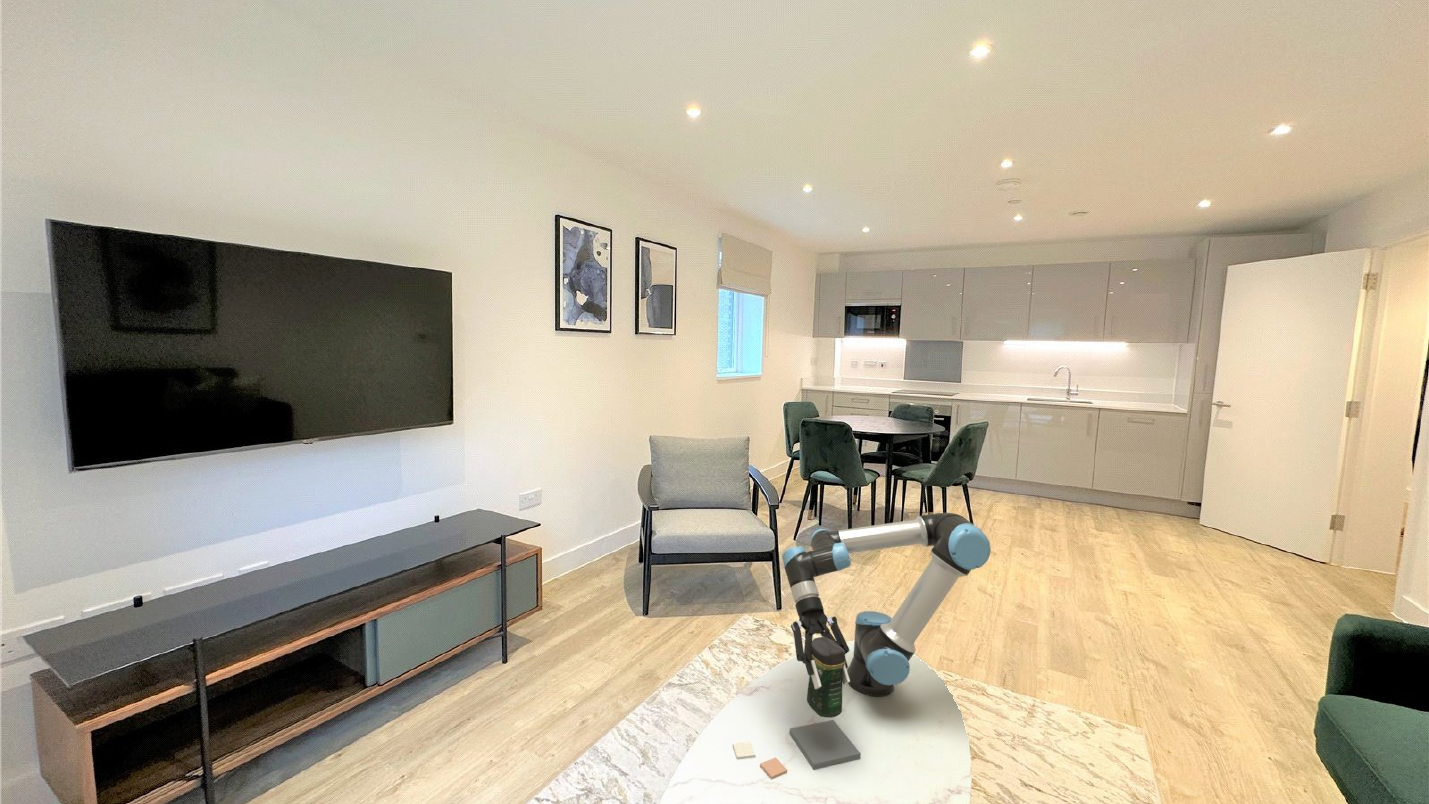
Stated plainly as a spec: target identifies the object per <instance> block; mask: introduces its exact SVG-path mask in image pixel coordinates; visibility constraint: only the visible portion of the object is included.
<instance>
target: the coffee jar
mask: <svg viewBox="0 0 1429 804" xmlns="http://www.w3.org/2000/svg"><path fill="white" fill-rule="evenodd" d="M845 659H846V654H845V650H844V649H843V648H842V647H841V646H839V645H838V644H837V643H835V642H834V641H833V640H831V639H829V638H827V637H822V636H820V637H815V638H813V639H812V643H811V660H814V661H815V665H816V668H817V672H818V675H819V679H820V682H821V687H820V688H818V689H815V687H814V684H813V680H812V677H811V675H808V676H809V677H808V678H809V679H808V684H807V686H808V687H807V694H806V703H807V704H808V705H809V708H811V709H812V710H813V712H814V713H815V714H817V715H818V716H820V717H821V718H827V719H829V718H830V719H831V718H836V717H838V716H839V715H841V713H842V711H843V682H842V680H843V668H844V665H845Z"/></svg>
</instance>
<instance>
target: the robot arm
mask: <svg viewBox="0 0 1429 804" xmlns="http://www.w3.org/2000/svg"><path fill="white" fill-rule="evenodd" d="M914 545H922V546H923V547H932V548H931V550H930V555H931V560H930V561H929V562H928V564H927V566H926V567H925V569H924V570H923V572H922V573H921V575H920V576H919V578H918V579H917V580H916V582H915V583H914V585H913V587H912V588H911V590H910V592H908V594H907V595H906V597H905V599H904V600H903V602H902V603H901V604H900V605H899V607H898V609H897V610H896V612H895V613H894V615H893V616H892V617H891V616H890V615H888V614H886V613H883V612H880V611H879V612H878V611H874V610H873V611H872V610H871V611H870V610H865V611H860V612H858V613H857V614H856V617H855V622H854V623H855V625H854V626H855V627H854V642H853V643H854V644H853V656H852V659H851V661H850V664H849V666H848V662H847V660H846V658H845V665H844V668H843V680H842V685H846V684H849V686H850V687H851V688H852V689H854V690H855V691H857V692H858V693H861V694H864V695H867V696H871V697H884V696H887V695H890V694H891V693H892V692H893V691H894V690H895V686H896V685H898V684H901V683H902V682H905V681H906V679H907V678H908V677H909V675H910V670H911V668H910V667H911V666H910V660H911V658H912V657H913V655H914V654H915V653H916V646H915V642H916V641H917V639H918V638H919V636H920V635H921V634H922V632H923V630H924V629H925V628H926V626H927V625H928V623H929V622H930V621H931V618H932V617H933V616H934V614H935V613H936V612H937V610H938V608H939V607H940V605H941V604H942V602H944V600H945V598H946V597H947V595H948V594H949V592H950V591H951V590H952V588H953V586H955V583H956V582H957V581H958V579H959V578H961V577H968V575H969V574H970V572H971V570H976V569H980V568H981V567H983V566H984V565H985V564H986V563H987V561H988V560H989V558H990V555H991V544H990V540H989V538H988V536H987V535H986V534H985V533H984V532H983V531H982V530H981V528H979V527H978V526H977V525H975V524H974V523H972V522H971V521H969V520H968V519H967V518H965V517H964V516H962V515H960V514H958V513H954V512H941V513H940V512H939V513H938V512H937V513H930V514H923V515H917V516H916V518H915V519H909V520H902V521H897V522H889V523H883V524H876V525H867V526H863V527H862V526H861V527H854V528H848V529H841V530H840V529H839V530H831V531H829V530H828V529H824V528H819V529H816V530H815V531H814V532H813V533H812V534H811V537H810V547H811V549H812V550H809V551H806V548H805V547H803V546H799V545H798V546H791V547H789V548H787V549H785V550H784V551H783V552H782V554H781V555H782V557H781V559H782V563H783V568H784V572H785V575H786V577H787V580H788V584H789V587H790V591H791V595H792V598H793V602H794V603H795V611H796V613H797V617H798V618H799V619H798V621H796V620H795V621H794V622H792V623H791V625H790V628H791V631H792V632H793V639H794V647H795V656H796V660H797V662H802V664H803V665H805V668H806V672H807V675H808V676H810V675H811V677H812V680H813V684H814V687H815V689H818V688H820V687H821V682H820V679H819V675H818V672H817V668H816V665H815V661H814V660H811V643H812V641H813V639H814V638H813V637H814V635H815V634H817V635H819V634H820V637H827V638H829V639H831V640H833V641H834V642H835V643H837V644H838V645H839V646H841V647H842V648H843V649H844V650H845V655H846V654H848V653H849V652H850V647H849V646H848V643H847V641H846V638H845V637H844V635H843V632H842V631H841V629H840V626H839V625H838V619H837V616H832V617H827V615H826V614H825V611H824V606H823V603H822V599H821V597H819V596H820V593H819V590H818V587H817V583H816V581H815V577H819V576H823V575H827V574H831V573H835V572H841V571H842V570H844V569H846V568H847V569H848V568H850V567H851V565H852V561H851V557H850V554H853V553H854V554H855V553H860V552H869V551H874V550H876V551H877V550H883V549H884V550H885V549H891V548H898V547H899V548H900V547H906V546H914ZM827 624H828V626H829V627H830V628H829V627H828V626H827ZM801 628H803V630H804V644H803V638H802V637H803V635H802V630H801ZM830 630H831V631H830ZM803 645H804V646H803Z"/></svg>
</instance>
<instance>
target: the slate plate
mask: <svg viewBox="0 0 1429 804" xmlns="http://www.w3.org/2000/svg"><path fill="white" fill-rule="evenodd" d="M788 734H789V736H791V738H792V740H793V741H794V743H795V744H796V746H797V747H798V749H799V750H800V751H801V753H802V754H803V756H804V758H805V759H806V761H807V762H808V763H809V765H810V767H811V768H812V770H818V769H821V768H826V767H830V766H835V765H840V764H844V763H847V762H852V761H857V760H860V759H861V757H862V756H861V754H862V753H861V752H860V751H859V749H858V748H857V747H856V746H855V744H854V743H853V742H852V741H851V740H850V739H849V737H848V736H847V735H846V733H845V732H844V731H843V730H842V729H841V728H840V726H839V725H838V724H837V723H836V721H835V719H831V720H830V719H829V720H824V721H820V722H816V723H815V722H814V723H810V724H806V725H801V726H796V727H790V728H789V733H788Z"/></svg>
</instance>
